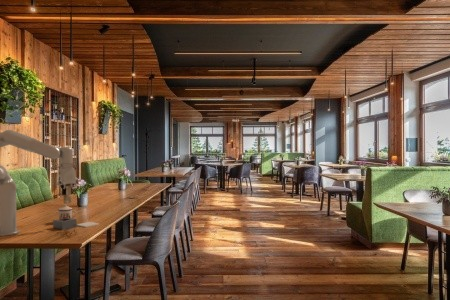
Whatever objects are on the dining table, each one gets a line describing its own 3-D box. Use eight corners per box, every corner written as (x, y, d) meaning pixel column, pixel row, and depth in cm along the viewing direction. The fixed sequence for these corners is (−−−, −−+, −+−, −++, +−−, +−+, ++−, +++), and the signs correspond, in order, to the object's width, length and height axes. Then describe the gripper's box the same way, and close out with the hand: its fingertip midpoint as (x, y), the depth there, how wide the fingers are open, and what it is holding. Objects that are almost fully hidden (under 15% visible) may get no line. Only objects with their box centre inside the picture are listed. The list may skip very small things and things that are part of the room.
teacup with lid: (57, 223, 242) (57, 206, 242) (58, 220, 251) (58, 204, 251) (76, 222, 247) (76, 205, 247) (77, 219, 255) (76, 203, 255)
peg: (66, 203, 228) (65, 184, 228) (61, 203, 230) (61, 184, 230) (73, 202, 232) (72, 184, 232) (68, 202, 234) (67, 183, 234)
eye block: (62, 229, 224) (62, 222, 224) (53, 228, 229) (53, 220, 229) (76, 226, 232) (76, 219, 232) (67, 225, 238) (67, 217, 237)
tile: (86, 227, 230) (86, 226, 230) (76, 225, 235) (76, 224, 235) (99, 224, 239) (99, 223, 239) (89, 222, 244) (89, 221, 244)
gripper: (58, 167, 222) (58, 196, 222) (81, 165, 236) (81, 193, 236) (51, 166, 226) (51, 195, 226) (74, 165, 240) (74, 192, 240)
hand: (67, 194), depth 231 cm, fingers closed on peg, 3 cm apart
